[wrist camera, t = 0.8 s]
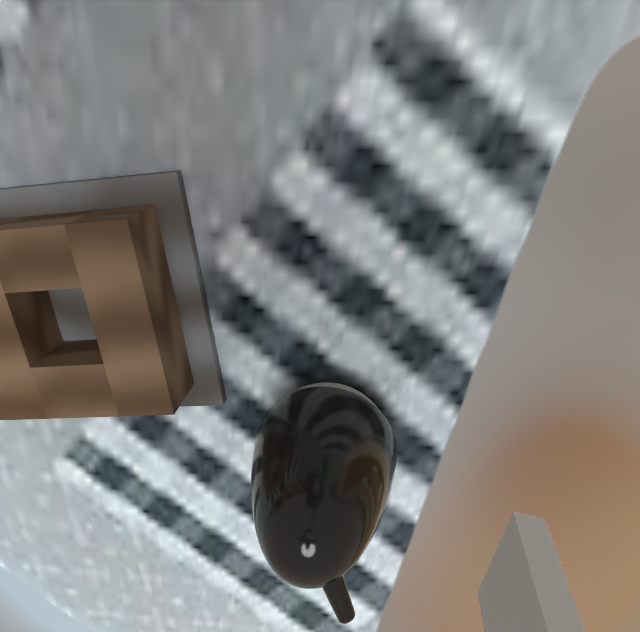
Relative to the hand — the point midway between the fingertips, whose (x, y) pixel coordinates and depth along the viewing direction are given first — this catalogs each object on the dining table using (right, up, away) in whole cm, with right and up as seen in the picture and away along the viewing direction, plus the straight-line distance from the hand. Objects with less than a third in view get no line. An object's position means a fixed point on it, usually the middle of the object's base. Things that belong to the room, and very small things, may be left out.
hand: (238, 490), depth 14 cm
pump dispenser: (+3, -4, +31) cm, 31 cm away
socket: (-15, +5, +29) cm, 33 cm away
